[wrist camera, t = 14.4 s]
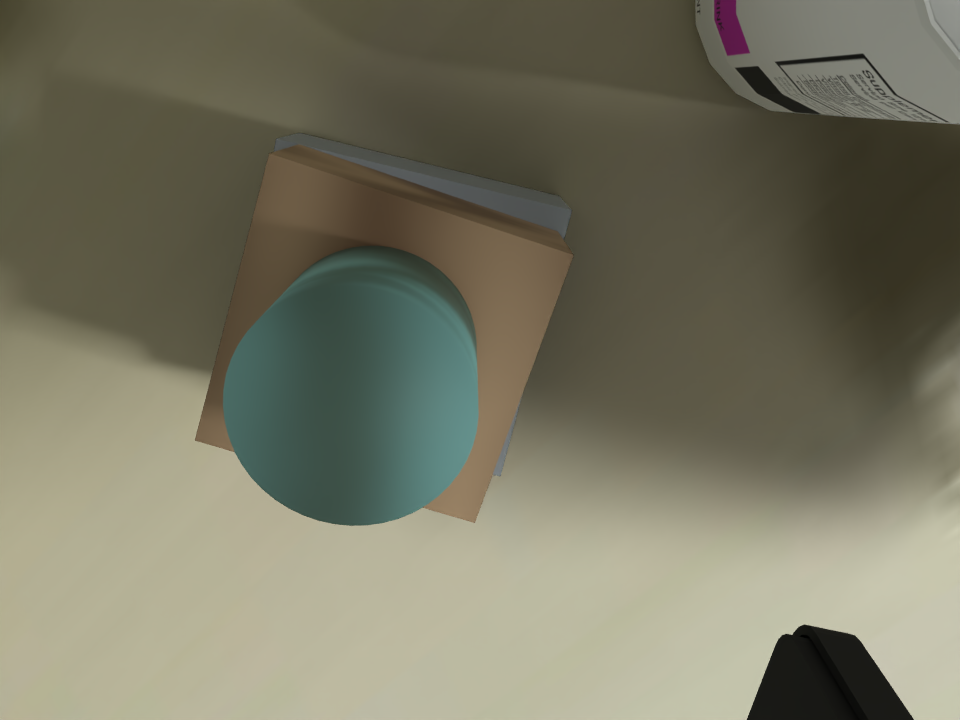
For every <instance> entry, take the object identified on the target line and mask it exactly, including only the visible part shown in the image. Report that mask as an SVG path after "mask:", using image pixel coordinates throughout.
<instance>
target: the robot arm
mask: <svg viewBox="0 0 960 720" xmlns="http://www.w3.org/2000/svg"><path fill="white" fill-rule="evenodd" d="M747 720H914V719H913V718H912V716H911V715H910V713H909V712H908V710H907V709H906V707H905V706H904V704H903V703H902V701H901V700H900V699H899V697H898V696H897V694H896V693H895V691H894V690H893V688H892V687H891V685H890V684H889V682H888V681H887V679H886V678H885V677H884V675H883V674H882V672H881V671H880V669H879V668H878V666H877V665H876V663H875V662H874V660H873V659H872V657H871V656H870V654H869V653H868V652H867V650H866V649H865V647H864V646H863V644H862V643H861V641H860V640H859V639H858V638H857V637H856V636H855V635H851V634H848V633H843V632H838V631H833V630H828V629H823V628H819V627H814V626H809V625H802V626H800V627H798V628H797V630H796V631H795V632H794V633H793V635H789V634H785V635H782V636H781V637H780V638H779V639H778V641H777V643H776V645H775V648H774V650H773V653H772V656H771V658H770V661H769V663H768V666H767V669H766V671H765V674H764V676H763V679H762V682H761V684H760V687H759V689H758V692H757V695H756V697H755V700H754V702H753V705H752V708H751V710H750V713H749V715H748V718H747Z"/></svg>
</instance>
